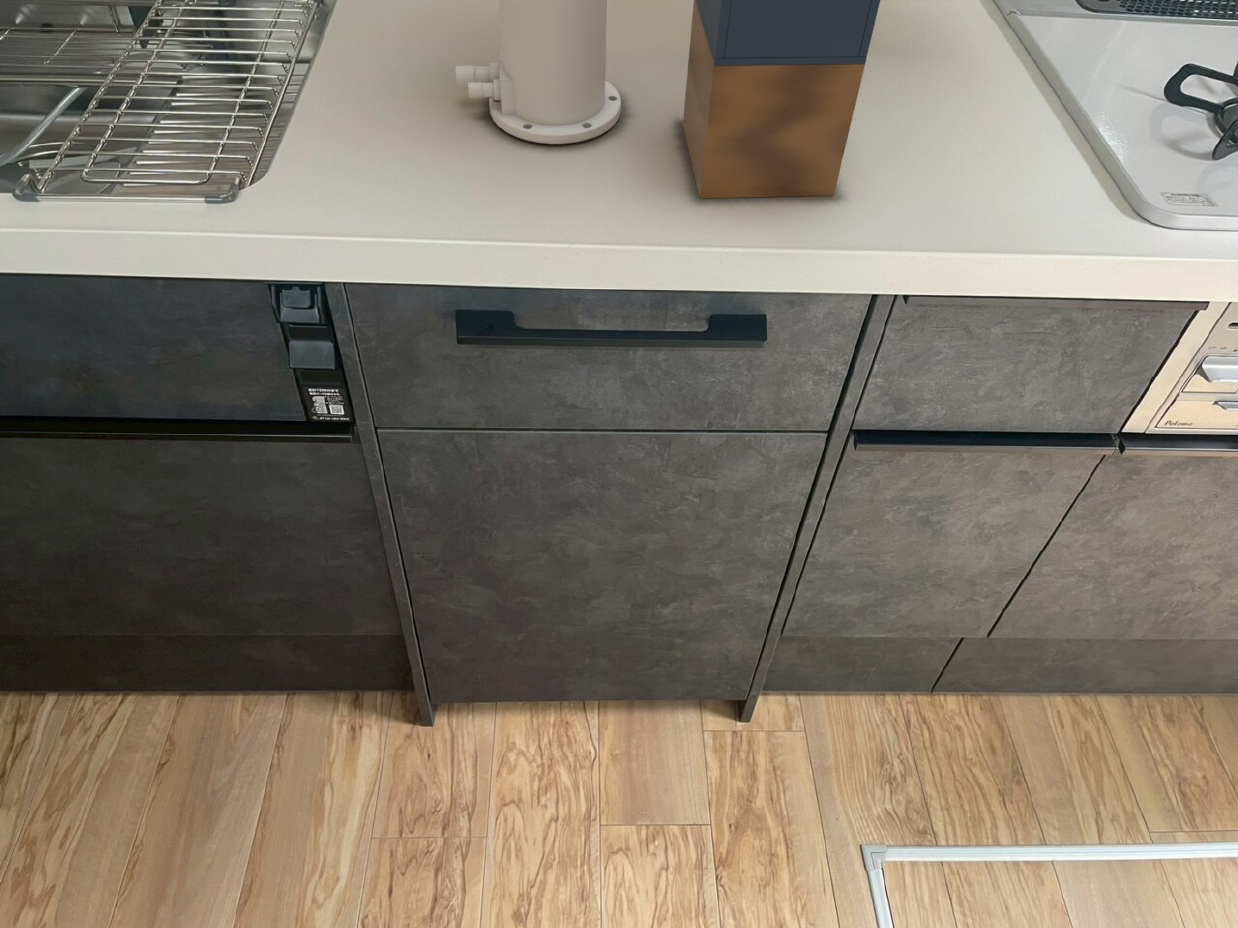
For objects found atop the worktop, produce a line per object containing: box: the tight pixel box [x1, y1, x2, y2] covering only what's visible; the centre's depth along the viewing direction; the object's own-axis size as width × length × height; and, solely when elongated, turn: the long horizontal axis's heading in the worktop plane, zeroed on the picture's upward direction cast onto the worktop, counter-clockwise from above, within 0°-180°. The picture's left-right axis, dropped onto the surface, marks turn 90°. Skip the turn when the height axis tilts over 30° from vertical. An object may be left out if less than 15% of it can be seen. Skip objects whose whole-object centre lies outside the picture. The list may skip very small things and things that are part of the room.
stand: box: [682, 0, 866, 199], centre depth 82 cm, size 12×12×12 cm
